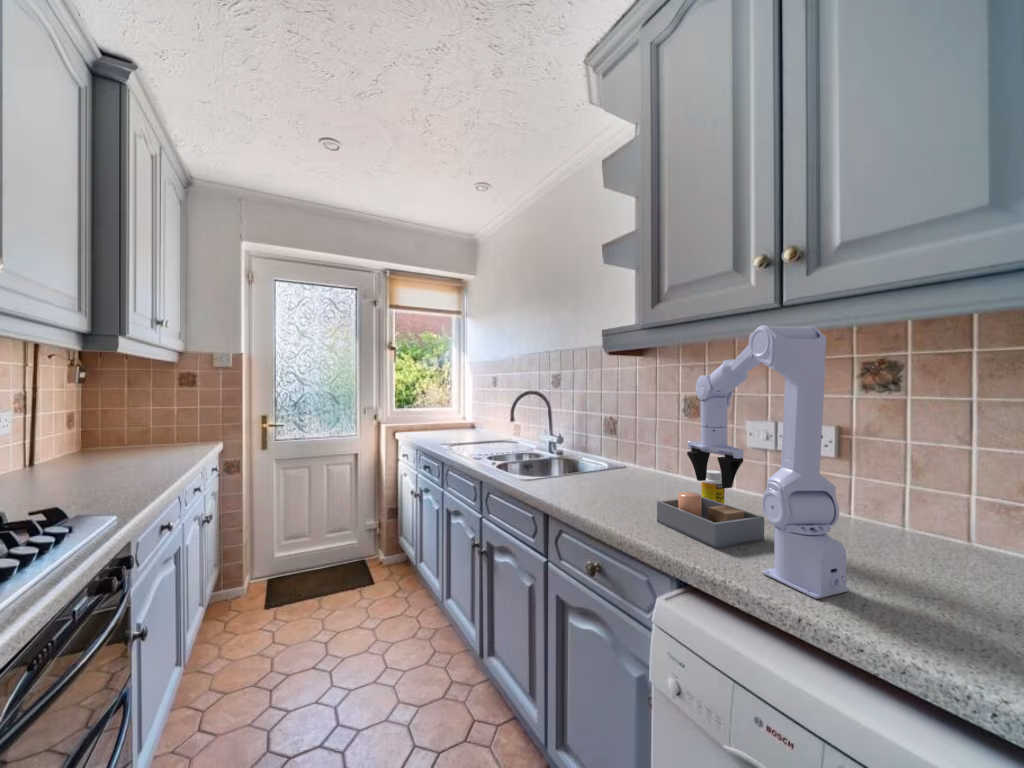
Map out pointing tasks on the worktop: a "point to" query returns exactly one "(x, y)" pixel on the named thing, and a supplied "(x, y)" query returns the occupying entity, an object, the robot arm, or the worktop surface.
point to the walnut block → (724, 514)
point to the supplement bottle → (713, 487)
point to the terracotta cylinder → (690, 502)
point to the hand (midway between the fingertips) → (713, 484)
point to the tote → (711, 525)
